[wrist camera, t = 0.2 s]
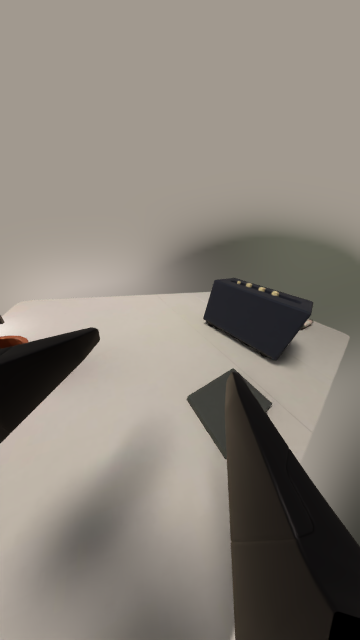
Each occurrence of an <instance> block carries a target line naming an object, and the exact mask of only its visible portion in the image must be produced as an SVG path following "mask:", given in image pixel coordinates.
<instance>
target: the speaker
mask: <svg viewBox="0 0 360 640" xmlns="http://www.w3.org/2000/svg"><path fill="white" fill-rule="evenodd" d="M312 307H313V302H312V301H309V300H305V299H302V298H299V297H296V296H292V295H289V294H286V293H282V292H279V291H276V290H273V289H269V288H266V287H263V286H259V285H256V284H253V283H249V282H246V281H243V280H240V279H236V278H231V279H220V280H215V281H214V284H213V287H212V291H211V294H210V297H209V301H208V304H207V308H206V311H205V314H204V318H203V319H204V320H206V321H208V322H209V324H210V325H211V326H214V325H215V326H216V327H218V328H220V329H222V330H223V331H225V332H227V333H228V334H230V335H232V336H234V337H235V338H237V339H239V340H241V341H242V342H244V343H246V344H248V345H249V346H251V347H253V348H255V349H256V350H258V351H260V353H261V355H262V356H265V357H267V356H269V357H270V358H272V359H274V360H277V359H278V358H279V356H280V355H281V354H282V352H283V351H284V350H285V348H286V347H287V346H288V344H289V343H290V342H291V341H292V339H293V338H294V337H295V335H296V334H297V333H298V331H299V330H300V329H301V327H302V326H303V325H304V323H305V322H306V321H307V319H308V318H309V317H310V315H311V312H312Z"/></svg>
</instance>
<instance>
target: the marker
mask: <svg viewBox="0 0 360 640" xmlns="http://www.w3.org/2000/svg"><path fill="white" fill-rule="evenodd" d="M312 323H313V320H311V319H309V320H307V321H306V322H305V323H304V325H303V326H302V327H301V329H303V328H305V327H307V326H308V325H310V324H312Z"/></svg>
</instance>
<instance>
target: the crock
mask: <svg viewBox="0 0 360 640" xmlns="http://www.w3.org/2000/svg"><path fill="white" fill-rule="evenodd" d="M23 343H28V340H27V339H26V338H24V337H21V336H3V337H0V347H1V349H2V348H6V347H11V346H15V345H19V344H23Z"/></svg>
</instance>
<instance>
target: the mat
mask: <svg viewBox="0 0 360 640" xmlns="http://www.w3.org/2000/svg"><path fill="white" fill-rule="evenodd" d="M231 372H236V373H238V372H237V371H236V370H235V369H231V370H230V371H228V372H226V373H225V374H223V375H221V376H220V377H218V378H217V379H215V380H213V381H212V382H210V383H209V384H207V385H205V386H204V387H202V388H200V389H199V390H197V391H196V392H194V393H192V394H191V395H189V396H188V398H187V401H188V402H189V404H190V405H191V407H192V408H193V410H194V411H195V413H196V415H197V416H198V418H199V419H200V421H201V422H202V424H203V425H204V427H205V428H206V430H207V431H208V433H209V435H210V436H211V438H212V439H213V441H214V442H215V444H216V445H217V447H218V448H219V450H220V452H221V453H222V455H223V456H224V458H225V459H226V458H227V450H226V430H225V396H226V382H227V379H228V378H229V376H230V374H231ZM242 378H243V377H242ZM243 379H244V378H243ZM244 381H245V382H246V384H247V385H248V387H249V388H250V390H251V391H252V393H253V394H254V396H255V397H256V399H257V400H258V402H259V403H260V405H261V406H262V408H263V409H264V411H265V412H266V411H267V410H268V408H269V407H270V406H271V405H272V403H271V402H270V401H269V400H268V399H267V398H265V397H264V396H263V395H262V394H261V393H260V392H259V391H258V390H257V389H255V388H254V387H253V386H252V385H251V384H250V383H249V382H248V381H247V380H246V379H244Z"/></svg>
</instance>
